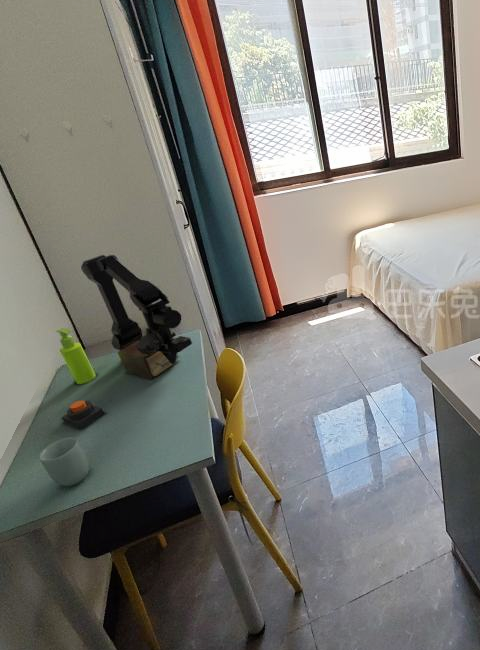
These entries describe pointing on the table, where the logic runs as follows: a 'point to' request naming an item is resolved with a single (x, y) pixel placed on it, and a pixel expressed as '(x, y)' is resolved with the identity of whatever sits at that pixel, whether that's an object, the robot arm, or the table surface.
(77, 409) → the button
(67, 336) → the soap dispenser
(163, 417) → the table surface
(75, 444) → the cup
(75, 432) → the table surface
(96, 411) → the control block
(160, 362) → the drawer
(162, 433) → the table surface
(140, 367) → the cabinet
